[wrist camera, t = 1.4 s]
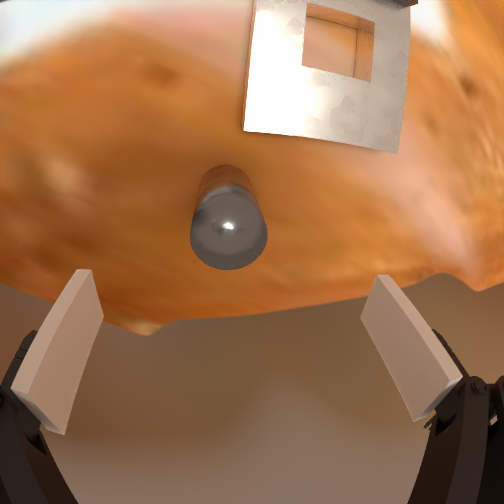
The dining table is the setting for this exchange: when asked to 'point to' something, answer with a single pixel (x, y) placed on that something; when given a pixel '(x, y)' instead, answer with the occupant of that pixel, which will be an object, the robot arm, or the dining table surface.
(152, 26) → the dining table surface
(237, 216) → the dark steel cylinder
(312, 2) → the block
